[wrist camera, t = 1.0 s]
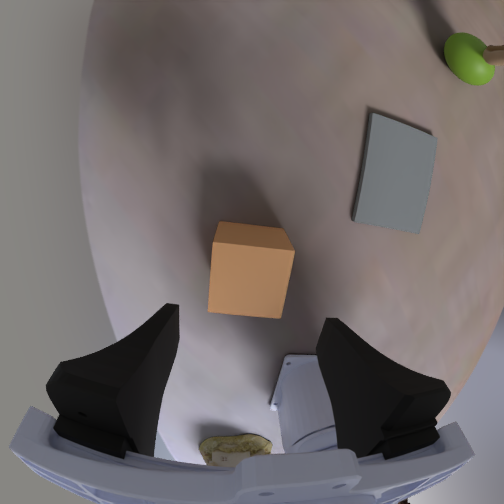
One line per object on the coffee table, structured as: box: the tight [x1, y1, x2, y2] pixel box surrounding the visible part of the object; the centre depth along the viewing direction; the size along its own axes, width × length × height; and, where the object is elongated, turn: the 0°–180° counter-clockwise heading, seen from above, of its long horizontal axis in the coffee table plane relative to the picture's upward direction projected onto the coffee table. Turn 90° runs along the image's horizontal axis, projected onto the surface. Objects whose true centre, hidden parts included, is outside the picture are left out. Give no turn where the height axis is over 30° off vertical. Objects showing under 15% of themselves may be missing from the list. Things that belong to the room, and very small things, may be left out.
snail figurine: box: [444, 33, 504, 85], centre depth 10 cm, size 5×6×12 cm
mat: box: [352, 113, 437, 234], centre depth 19 cm, size 9×7×1 cm
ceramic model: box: [199, 434, 272, 467], centre depth 29 cm, size 14×11×10 cm
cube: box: [208, 221, 295, 319], centre depth 20 cm, size 5×5×5 cm
